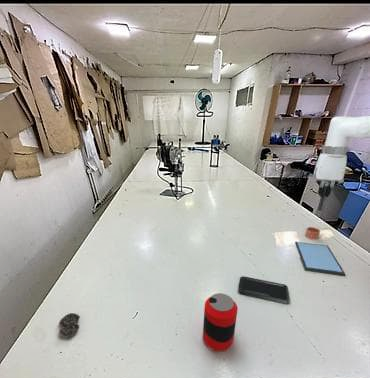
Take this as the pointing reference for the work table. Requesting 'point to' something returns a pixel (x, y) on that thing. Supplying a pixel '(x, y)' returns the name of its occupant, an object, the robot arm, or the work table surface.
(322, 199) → the stylus
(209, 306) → the soda can
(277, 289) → the phone
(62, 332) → the corroded twin loop
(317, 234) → the pen cup
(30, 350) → the work table surface
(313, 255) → the tablet
